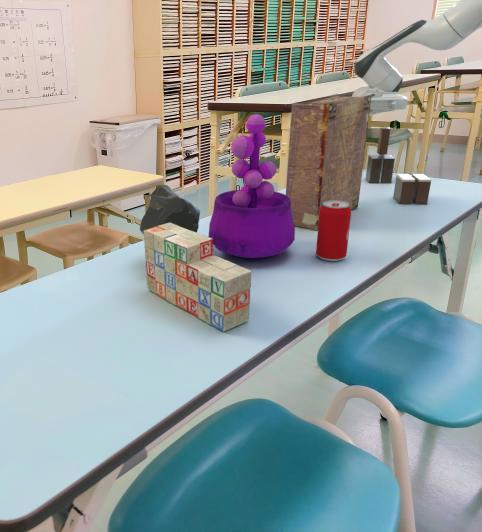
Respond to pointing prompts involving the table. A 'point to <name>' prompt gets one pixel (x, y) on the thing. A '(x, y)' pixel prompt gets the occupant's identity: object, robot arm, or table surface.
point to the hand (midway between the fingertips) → (378, 105)
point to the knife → (383, 145)
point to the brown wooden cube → (412, 188)
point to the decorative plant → (252, 204)
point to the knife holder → (379, 169)
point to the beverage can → (333, 230)
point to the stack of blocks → (196, 276)
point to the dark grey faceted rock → (169, 211)
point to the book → (325, 154)
